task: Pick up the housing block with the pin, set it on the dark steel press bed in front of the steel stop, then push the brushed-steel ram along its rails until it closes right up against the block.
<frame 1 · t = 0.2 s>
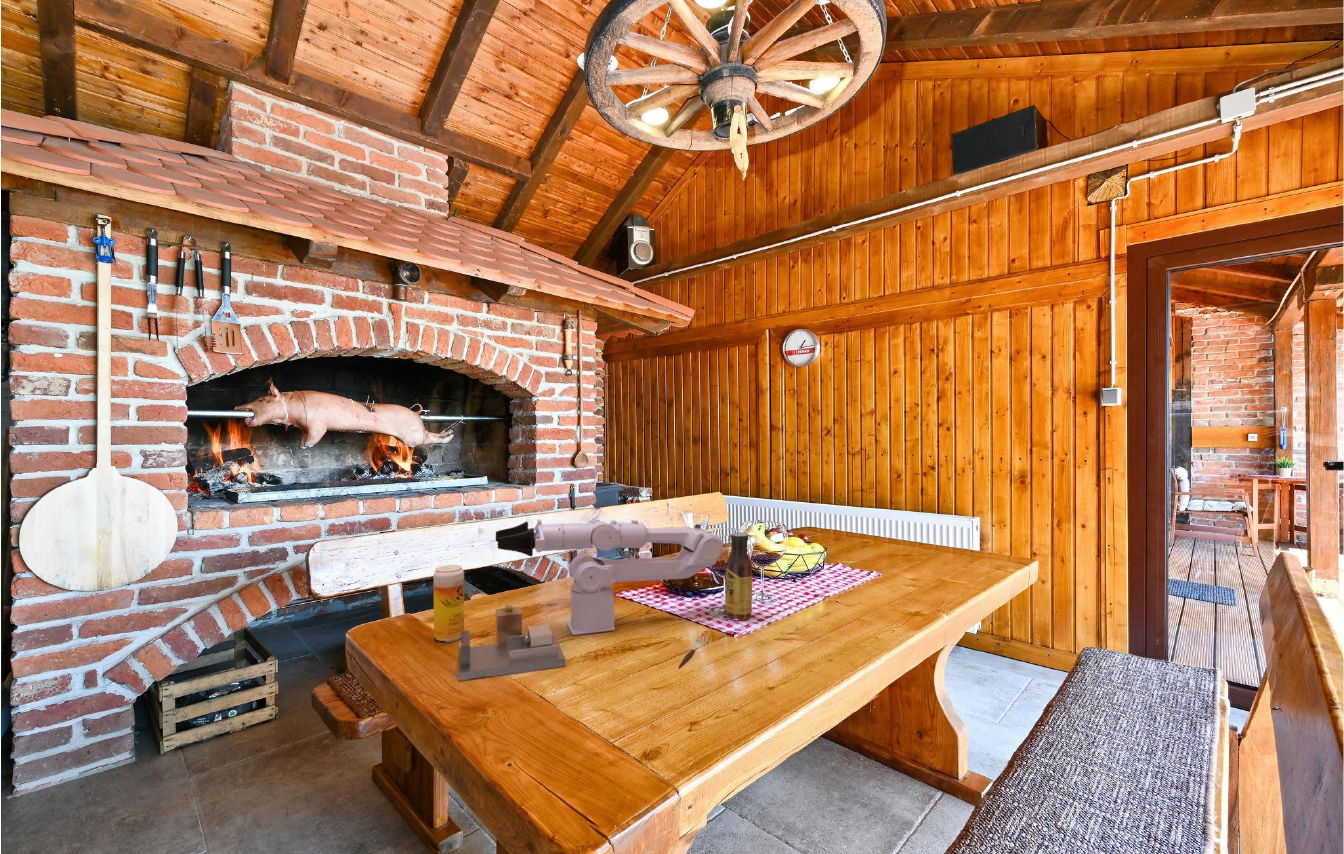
hand: (496, 539, 126), 21 cm above the table, tool horizontal, fingers open, 7 cm apart
fork: (692, 655, 119), on the table
beer can: (449, 638, 127), on the table
ram: (536, 639, 117), point 4 cm above the table, slide at 0.0 cm
housing: (509, 639, 127), on the table
sauce bottle: (738, 618, 140), on the table
press frame: (510, 660, 115), on the table
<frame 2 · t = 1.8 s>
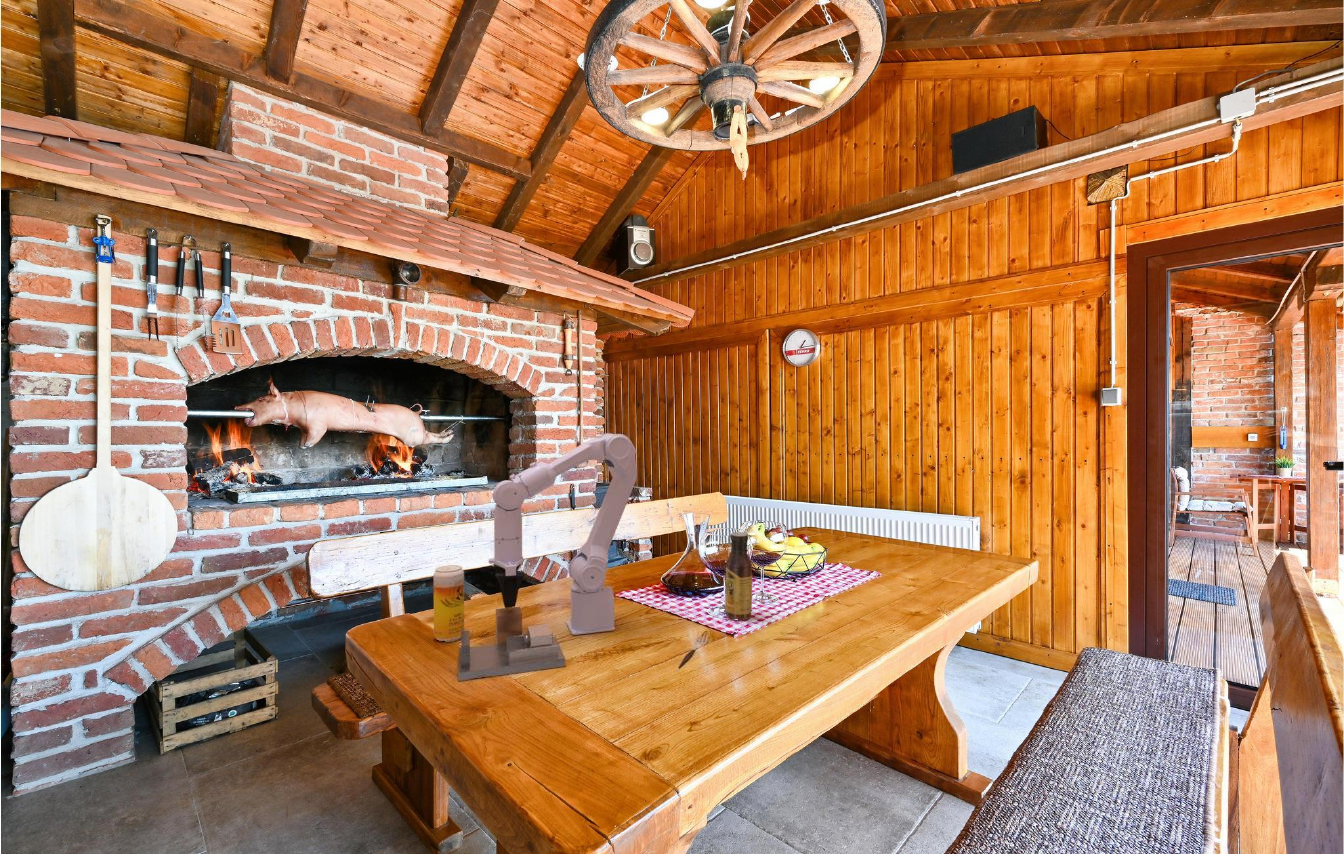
hand: (508, 601, 127), 8 cm above the table, tool pointing down, fingers open, 7 cm apart
nothing on the table moved.
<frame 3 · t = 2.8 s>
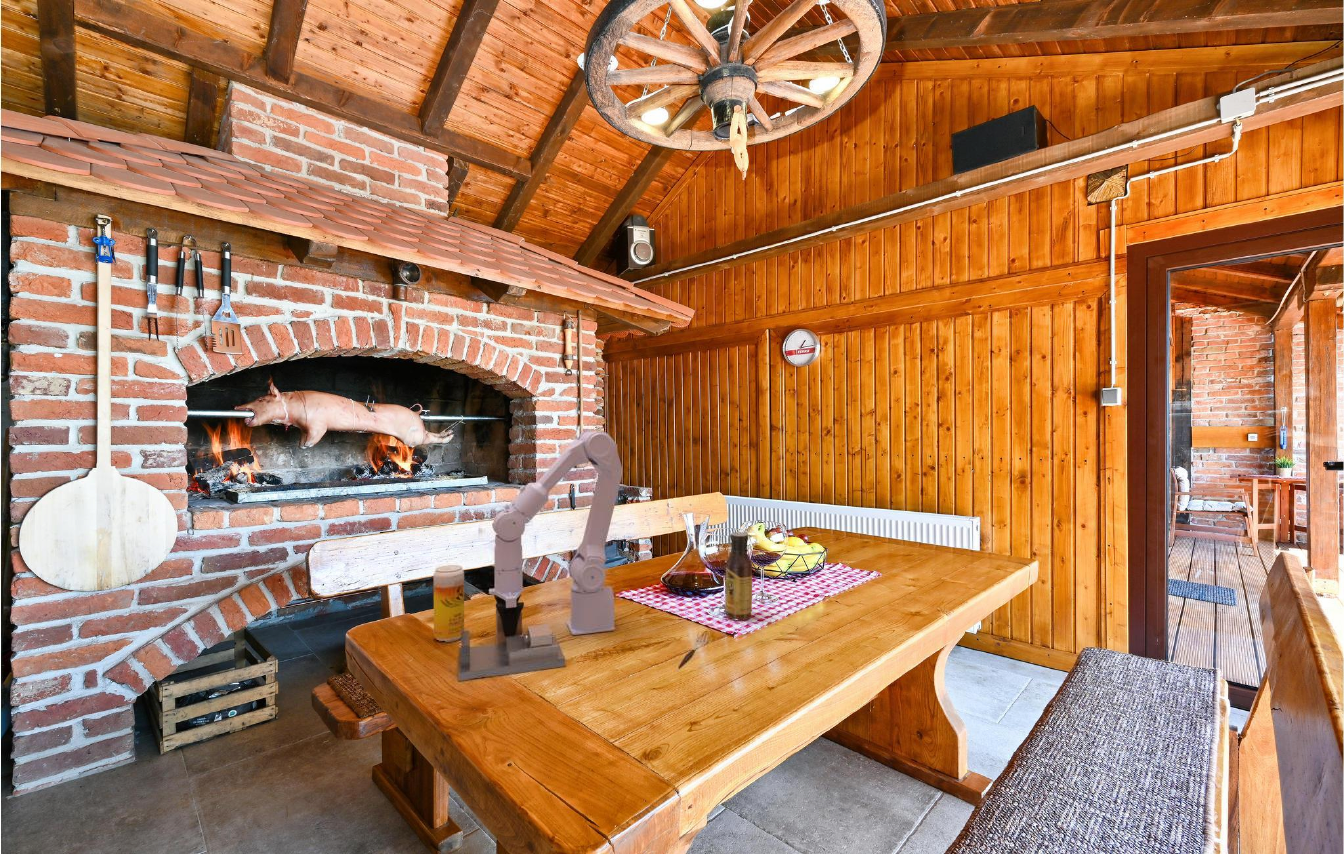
hand: (508, 631, 127), 2 cm above the table, tool pointing down, fingers closed on housing, 5 cm apart
housing: (508, 638, 127), on the table, touching gripper
everything else where it was.
when the fingers open (4 cm above the table, at t = 6.2 s): housing stays where it is, resting on press frame.
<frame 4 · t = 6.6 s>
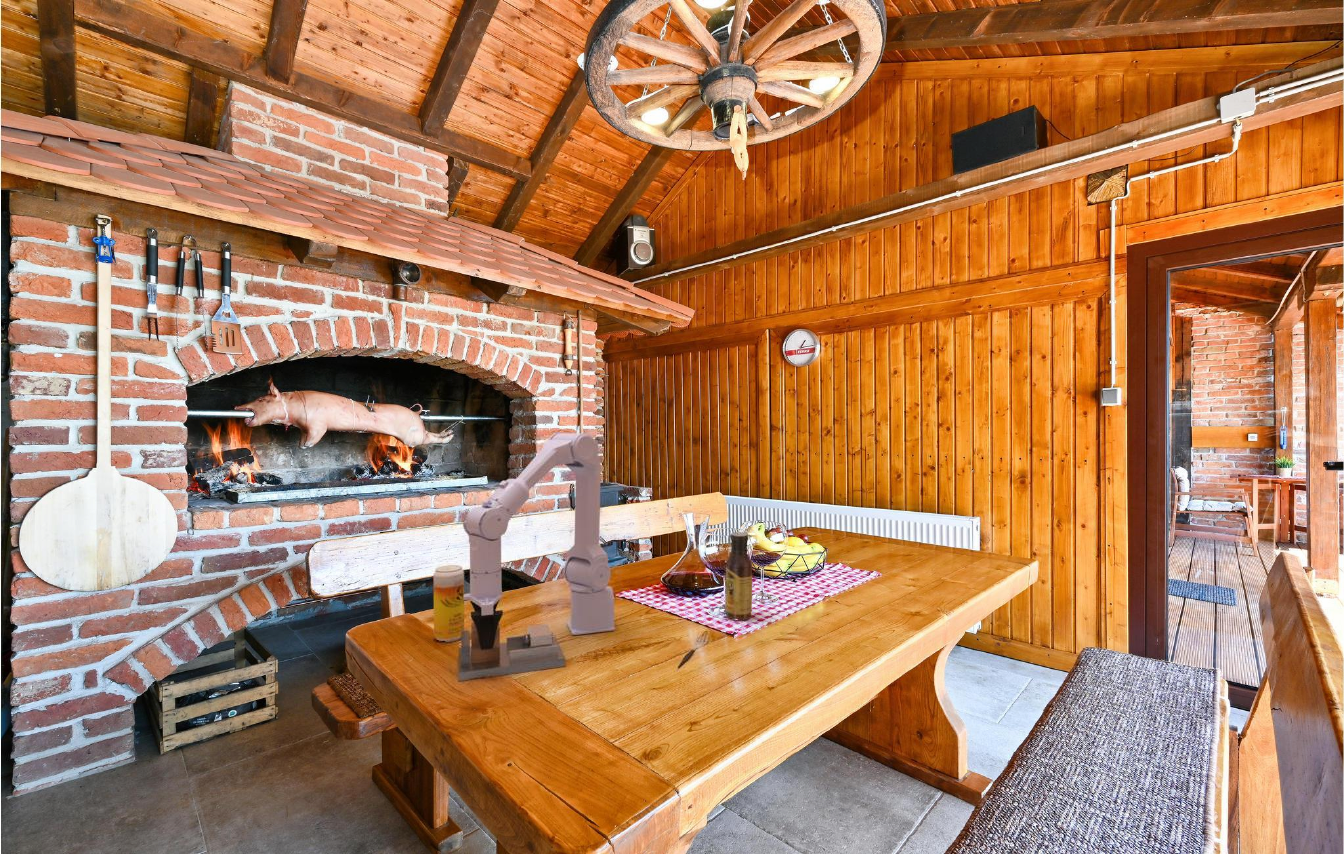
hand: (486, 641, 114), 4 cm above the table, tool pointing down, fingers open, 7 cm apart
housing: (485, 656, 114), point 1 cm above the table, touching press frame
everything else where it was.
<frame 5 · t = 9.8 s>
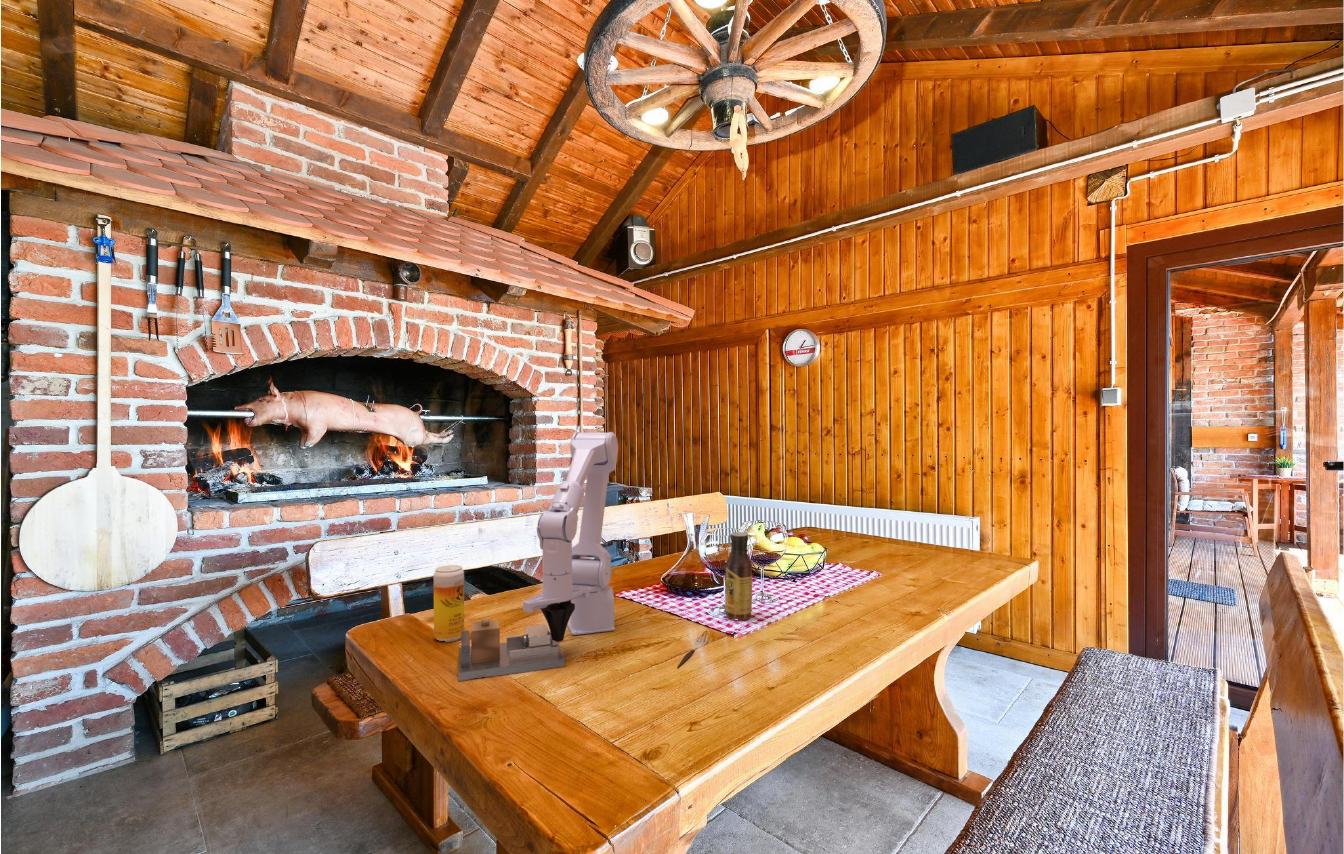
hand: (557, 640, 118), 3 cm above the table, tool pointing down, fingers closed
ram: (535, 639, 117), point 4 cm above the table, slide at 0.3 cm, touching gripper
everything else where it was.
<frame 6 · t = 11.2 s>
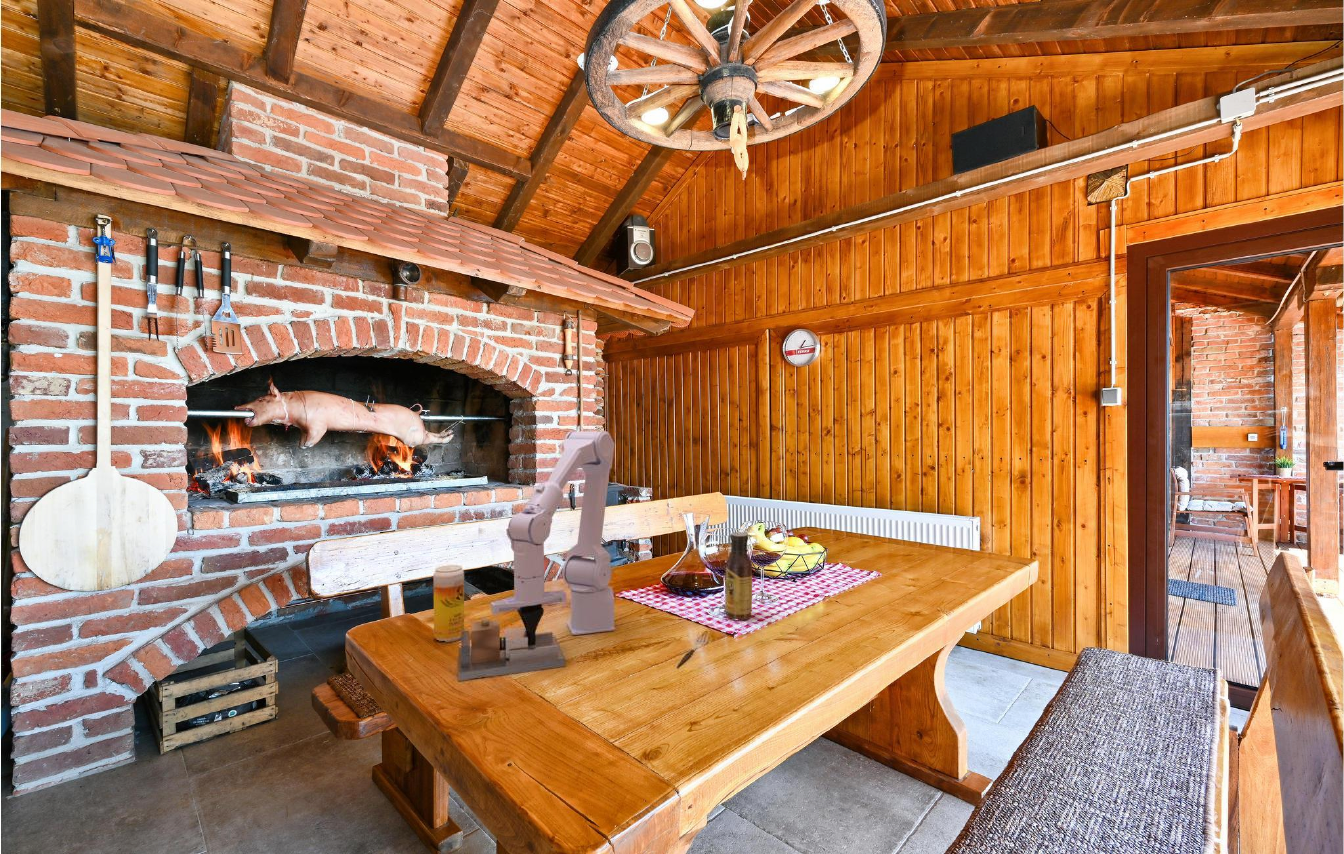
hand: (530, 643, 116), 3 cm above the table, tool pointing down, fingers closed, pressing on ram
ram: (513, 642, 115), point 4 cm above the table, slide at 4.6 cm, touching gripper
everything else where it was.
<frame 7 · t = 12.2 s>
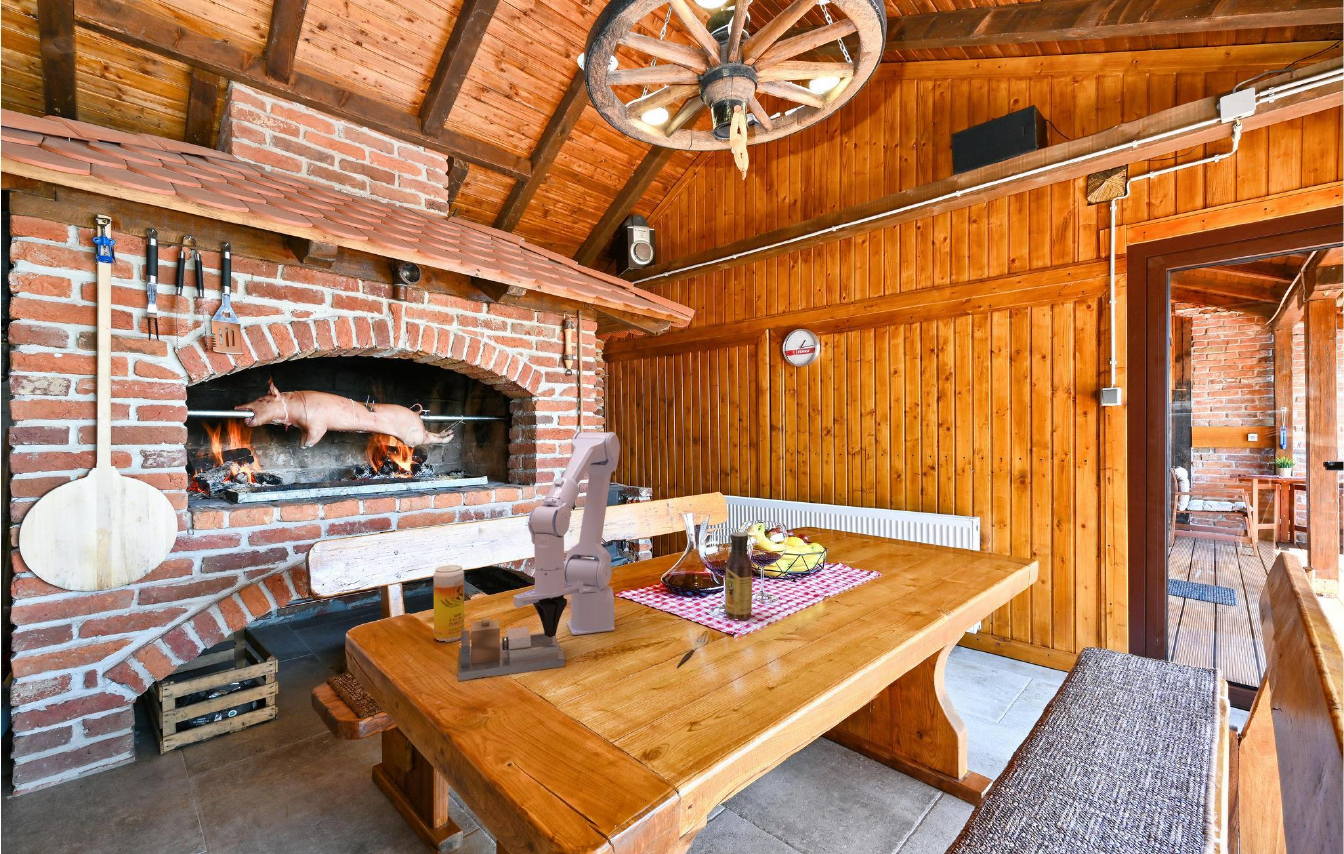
hand: (550, 635, 118), 4 cm above the table, tool pointing down, fingers closed
ram: (515, 641, 115), point 4 cm above the table, slide at 4.0 cm
everything else where it was.
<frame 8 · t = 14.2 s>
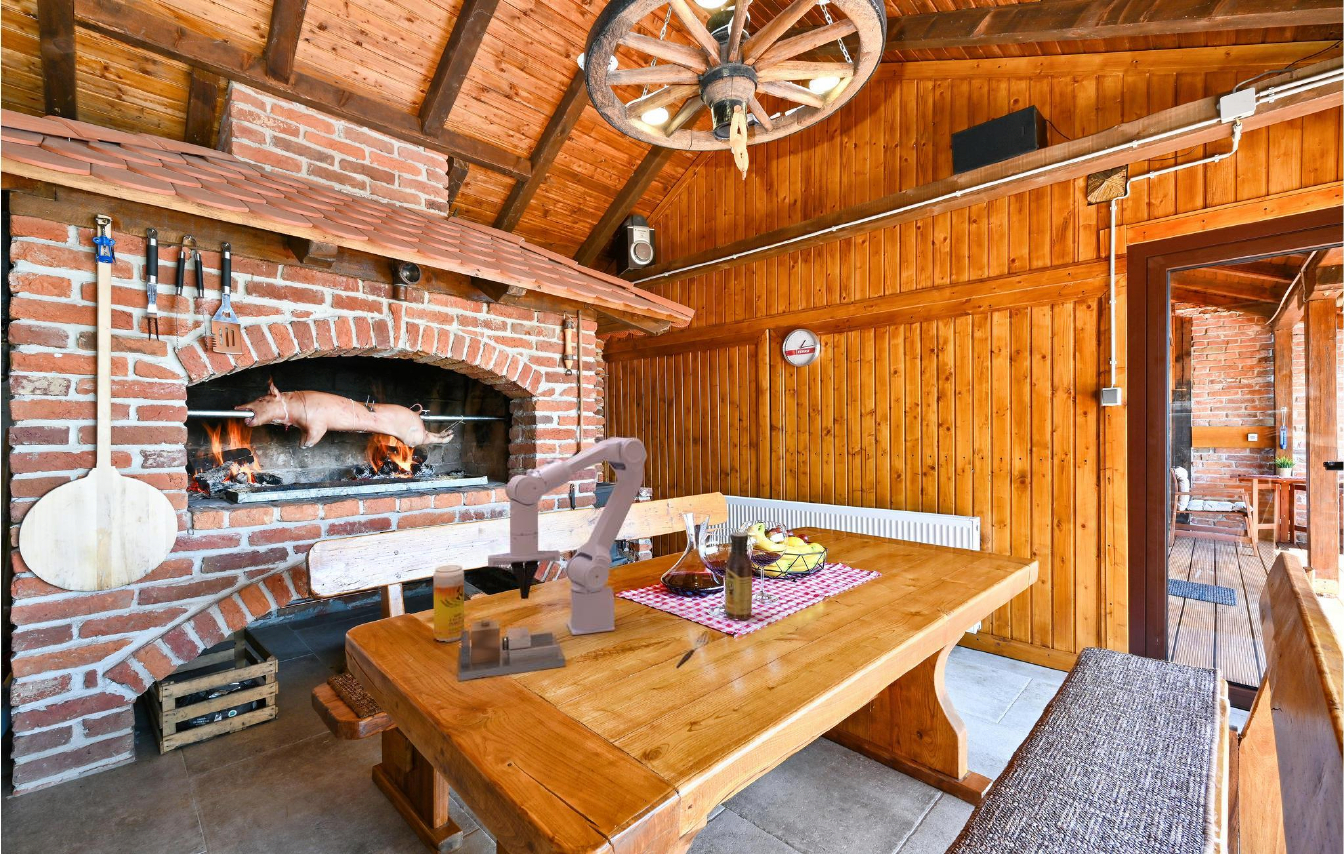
hand: (524, 597, 125), 9 cm above the table, tool pointing down, fingers closed
nothing on the table moved.
at the end: housing 0.0 cm from the target spot on the press frame, point 1.5 cm above the press frame's base; ram slide at 4.0 cm; housing tilted 0° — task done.
